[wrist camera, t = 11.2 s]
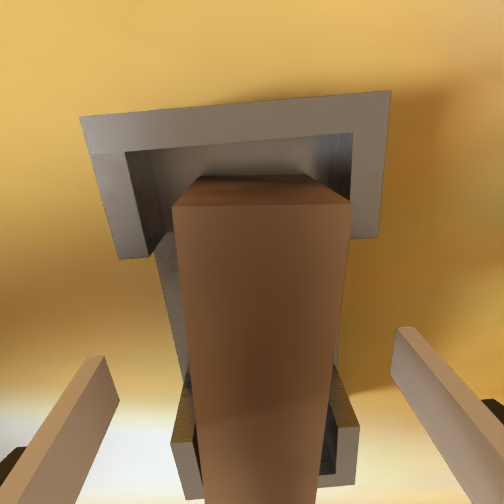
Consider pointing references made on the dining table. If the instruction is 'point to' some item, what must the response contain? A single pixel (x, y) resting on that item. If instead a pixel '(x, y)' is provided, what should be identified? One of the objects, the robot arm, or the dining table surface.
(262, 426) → the brown wooden block
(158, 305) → the dining table surface
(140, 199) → the bracket
